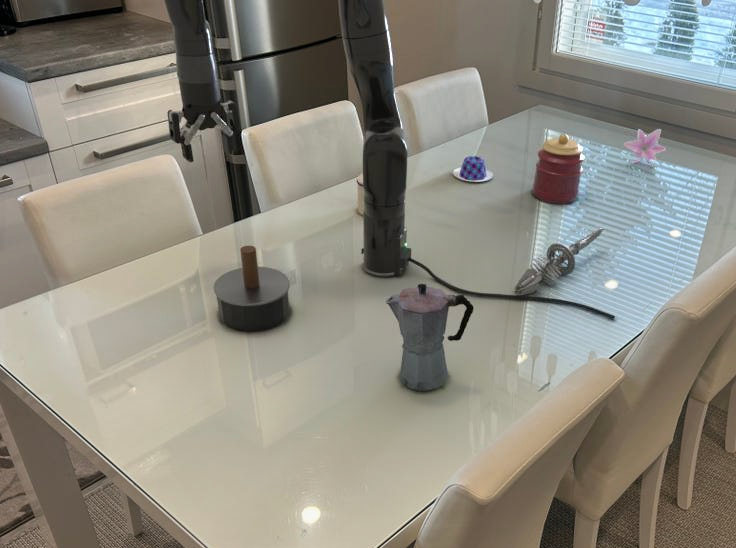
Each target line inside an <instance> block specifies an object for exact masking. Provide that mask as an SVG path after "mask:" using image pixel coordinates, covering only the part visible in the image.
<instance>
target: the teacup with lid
mask: <svg viewBox="0 0 736 548" xmlns="http://www.w3.org/2000/svg"><path fill="white" fill-rule="evenodd" d="M356 183H357V212H358V213H359V214H360V215H361V216H363V173H361V174H359V175H358V176H357V178H356Z"/></svg>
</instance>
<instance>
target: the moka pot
mask: <svg viewBox="0 0 736 548" xmlns="http://www.w3.org/2000/svg"><path fill="white" fill-rule="evenodd" d="M384 302H385V304H386V305H388V307H389V308H390V310H391V311H392V313H393V315H394V317H395V318H396V320H397V322H398V326H399V331H400V332H399V333H400V335H401V337H402V344H401V348H402V353H401V361H400V362H401V363H400V371H399V378H400V381H401V383H402V384H403V385H404V386H405V387H407V388H408V389H411V390H414V391H419V392H424V391H432V390H436V389H438V388H440V387H442V386H443V385H444V384H445V383H446V382H447V380H448V377H449V372H448V365H447V360H446V353H445V348H444V343H443V342H444V340H445V336H444V335H445V334H446V329H447V322H448V316H449V308H450V307H454V308H455V307H457V306H459V305H464V307H465V310H464V313H463V316H462V318H461V321H460V325H459V327H458V330H457V331H456V334H454V335H448V336H447V340H448V341H449V342H453V341H460V340H461V339H462V338H463V335H464V334H465V330H466V329H467V325H468V323H469V321H470V318H471V316H472V314H473V313H474V305H473V304H472V303H471V301H470V300H468V299H467V297H465V294H457V295H455V294H446V293H445V292H444V291H443V290H442V289H441V288H437V287H433V286H429V285H427V284H425V283H419V284H418V285H417V286H412V287H408V288H403V289H402V290H401V291H400V292H399V293H397V294H394V295H390V296H389V297H387V299H385V301H384Z"/></svg>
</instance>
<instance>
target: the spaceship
mask: <svg viewBox="0 0 736 548" xmlns="http://www.w3.org/2000/svg"><path fill="white" fill-rule="evenodd" d="M603 231H604V228H603V227H600V228H598V229H597V230H594V231H592V232H591V233H590V234H587V235H585V236H583V237H582V238H580V239H578V240H576V241H575V242H573V243H571V244H570V245H569V246H567V245H565V244H563V243H559V242H556V243H552V244H550V245H549V247H548V248H547V250H546V257H545V256H544V255H542V254H539V255H538V256H536V257H535V258H533V259H532V260H533V261H534V262H533V263H532V264H530V265H529V268H527V269H526V270H525V272H524V273H523V274H522V276H521V277H520V279H519V280H518V282H517V284H516V285H515V286H514V289H513V290H512V293H515V295H516V296H518V295H520V296H526V295H528V294H532V293H535V291H536V289H537V287H538V284H539V282H542V281H544V282H545V283H547V284H548V285H549V286H552V285H553V284H555V283H556V282H557V281H559V279H558V278H559V276H562V275H565V276H566V275H570V274H571V273H572V272H574V270H575V268H576V258H575V256H577V255H579V253H580V251H582V250H583V249H585V248H587V247H588V246H589V245H590V244H591V243H593V242H594V241H595V240H596V239H597V238H598V237H600V236H601V234H602V232H603ZM556 252H558V254H557V253H556ZM566 261H567V262H566ZM565 265H566V266H565Z"/></svg>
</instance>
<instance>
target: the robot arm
mask: <svg viewBox="0 0 736 548" xmlns="http://www.w3.org/2000/svg"><path fill="white" fill-rule="evenodd" d="M163 1H164V2H163V3H164V5H165V9H166V12H167V16H168V19H169V21H170V24H171V27H172V36H173V37H172V38H173V44H174V50H175V51H174V52H175V61H176V62H175V64H176V65H175V66H176V76H177V79H178V86H179V92H180V98H181V103H182V108H181V110H176V111H174V110H172V109H169V110H168V111H167V114H166V115H167V121H168V131H169V139H170V140H171V141H172V142H174V143H175V144H177V145H178V144H179V145H180V147H181V154H182V157H183V159H184V160H186V161H187V162H188V163H193V162H195V161H194V155H193V147H192V144H191V142H192V141H193V138H194V136H196V135H197V133H198V131H205V130H208V129H216V127H217V128H218V129H219V130H220V131H221V132H222V133H223V134H221V137H222V146H223V151H224V153H225V154H227V155H232V154H233V151H234V139H233V135H234V134H235V133H239V132H241V129H242V128H241V124H240V117H239V110H238V106H237V104H236V102H235V101H232V100H230V99H227V100H226V101H225V102H223V103H222V101H221V99H222V97H221V90H220V80H219V71H218V64H217V60H216V56H215V51H214V42H213V33H212V30H211V26H210V24H209V23H210V22H208V20H207V19H206V13H205V7H204V0H163ZM337 2H338V15H339V24H340V31H341V37H342V42H343V49H344V52H345V58H346V61H347V65H348V69H349V72H350V75H351V78H352V80H353V81H352V82H353V83H354V86H355V89H356V91H357V94H358V98H359V102H360V107H361V115H362V127H363V139H362V140H363V141H362V142H363V143H362V174H363V215H362V216H363V217H362V218H363V219H362V220H363V221H362V222H363V223H362V225H363V248H361V255H363V258H362V261H363V262H362V267H363V270H364V271H365V273H367V274H369V275H372V276H375V277H379V278H380V277H381V278H387V277H394V276H395V277H400V275H401V274H402V272H403V270H405V269H407V267H408V265H409V263H412V264H414V265H417V266H418V267H420V268H421V269H423V270H424V271H426V272H427V273H428V275H429V276H430V277H431V278H433V279H434V280H435V281H437V282H438V283H439V284H441V285H443V286H444V287H446V288H448V289H450V290H452V291H456V292H459V293H462V294H464V295H465V294H466V295H470V296H474V297H475V296H476V297H484V298H485V297H486V298H499V299H500V298H501V299H511V300H512V299H514V300H531V301H542V302H551V303H558V304H564V305H567V306H568V305H570V306H574V307H577V308H581V309H584V310H587V311H591V312H594V313H596V314H599V315H601V316H603V317H607V318H609V319H612V320H615V318H616V316H615V315H614V314H611V313H608V312H605V311H603V310H601V309H598V308H595V307H592V306H589V305H586V304H582V303H579V302H574V301H571V300H565V299H560V298H552V297H543V296H535V295H534V296H533V295H518V296H516V294H503V293H502V294H500V293H491V292H490V293H489V292H477V291H471V290H467V289H464V288H461V287H457V286H454V285H452V284H450V283H448V282H446V281H444V280H443V279H441V278H440V277H439V276H437V275H436V274H434V272H433V271H432V270H431V269H430V268H429V267H427V265H424V264H423V263H421V262H420V261H418V260H416V259H414V258H412V248H411V247H407V245H408V243H407V235H408V229H407V227H406V226H405V225H406V224H405V222H406V221H405V219H406V193H407V179H408V177H407V176H408V141H407V137H406V133H405V130H404V127H403V124H402V119H401V117H400V112H399V107H398V103H397V99H396V93H395V65H394V53H393V44H392V37H391V31H390V26H389V25H390V24H389V21H388V20H389V19H388V15H387V11H386V6H385V3H384V0H338V1H337ZM224 112H225V113H226V114H227V118H228V123H229V125H227V123H226V122H224V120H223V119H222V115H223V113H224ZM183 118H184V119H185V120H186V121H185V123H184V125H183V127H182V131H181V126H180V123H182V119H183Z"/></svg>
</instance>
